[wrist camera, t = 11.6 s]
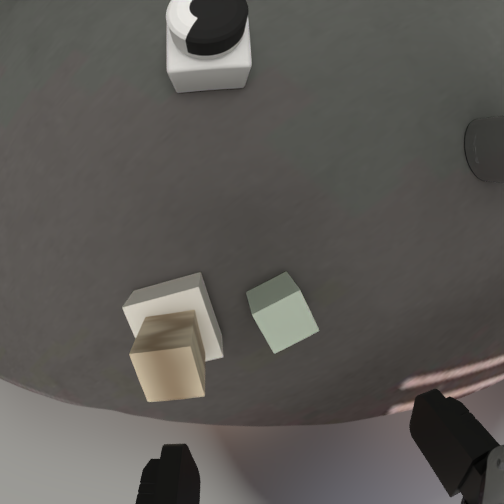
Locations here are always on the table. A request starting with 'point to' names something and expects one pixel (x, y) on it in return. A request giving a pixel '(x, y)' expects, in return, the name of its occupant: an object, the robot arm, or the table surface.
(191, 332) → the maple block
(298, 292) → the sage block
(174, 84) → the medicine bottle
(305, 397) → the table surface
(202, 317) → the cream base block
